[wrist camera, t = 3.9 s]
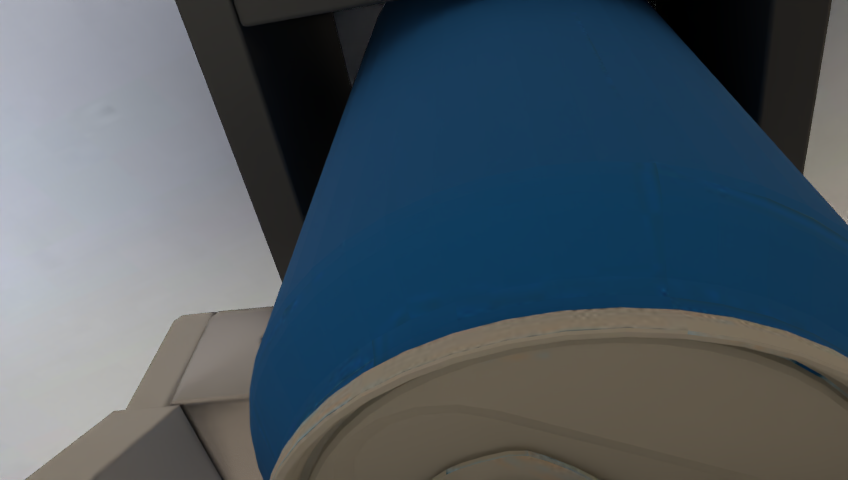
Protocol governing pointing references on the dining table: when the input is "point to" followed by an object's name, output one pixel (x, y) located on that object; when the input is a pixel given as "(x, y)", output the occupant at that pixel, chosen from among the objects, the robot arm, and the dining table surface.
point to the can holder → (314, 3)
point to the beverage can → (553, 267)
